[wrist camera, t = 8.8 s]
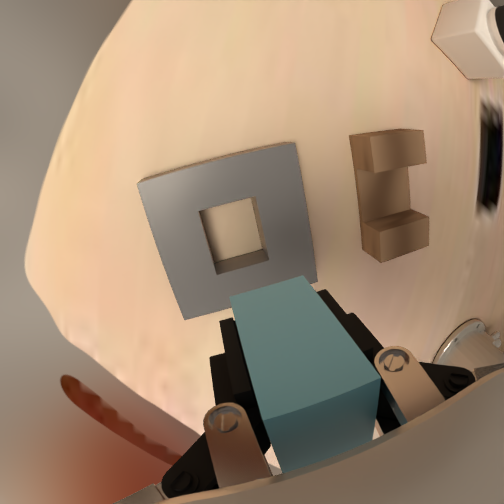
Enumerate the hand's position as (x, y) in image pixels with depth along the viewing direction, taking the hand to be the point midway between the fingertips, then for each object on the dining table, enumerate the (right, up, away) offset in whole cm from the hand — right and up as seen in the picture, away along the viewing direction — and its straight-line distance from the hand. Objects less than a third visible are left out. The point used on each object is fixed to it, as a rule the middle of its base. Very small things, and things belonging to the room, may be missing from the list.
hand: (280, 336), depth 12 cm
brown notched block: (+12, +9, +15) cm, 21 cm away
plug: (0, 0, +1) cm, 1 cm away
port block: (-3, +5, +14) cm, 15 cm away
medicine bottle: (+22, +28, +11) cm, 37 cm away
